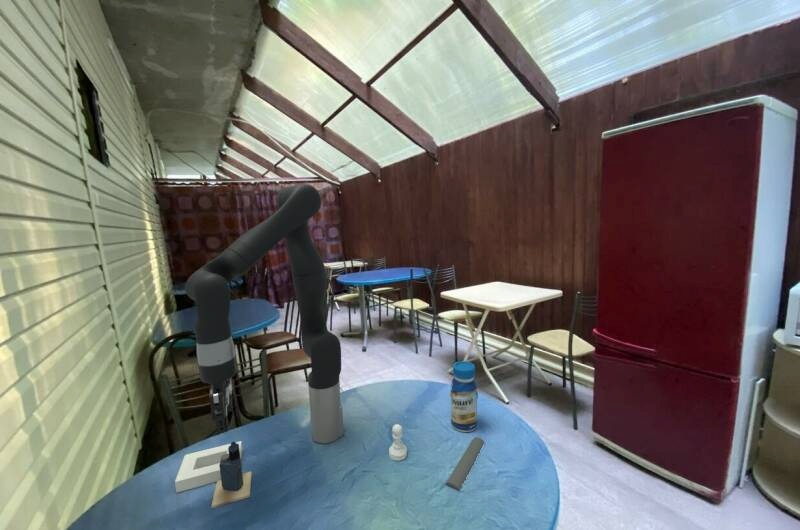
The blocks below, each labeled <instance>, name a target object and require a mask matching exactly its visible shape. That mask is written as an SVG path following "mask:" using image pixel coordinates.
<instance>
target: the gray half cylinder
mask: <svg viewBox="0 0 800 530" xmlns="http://www.w3.org/2000/svg"><path fill="white" fill-rule="evenodd" d="M473 438H474V439H473ZM473 438H472V440H471V441H472V442H471V441H470V443H469V445H468V446H469V447H468V446H467V447H466V449H467V450H465V451H464V453H463V455H462V456H461V457H460V459H459V461H458V463H457V464H456V466H455V467H454V469H453V471H452V473H451V474H450V476H449V478H448V479H447V481H446V483H445V485H446V484H447V485H446V486H448V485H449V487H451V488H452V489H455V490H457V489H458V490H457V491H459V490H460V489H461V487H462V484H463V483H464V481H465V480H466V481H467V479H466V477H467V475H468V474H469V472H470V470H471V468H472V466H473V465H474V462H475V461H476V458H477V456H478V454H479V453H480V450H481V448H482V446H483V444H484V443H485V444H486V442H485V441H484V440H483V438H481V437H477V436H475V437H473ZM480 454H481V453H480ZM476 462H477V461H476ZM474 466H475V465H474ZM474 466H473V467H474ZM472 469H473V468H472ZM471 471H472V470H471ZM470 473H471V472H470ZM469 475H470V474H469ZM466 481H465V482H466ZM464 484H465V483H464ZM462 488H463V487H462ZM461 490H462V489H461ZM461 490H460V491H461Z"/></svg>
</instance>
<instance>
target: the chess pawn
mask: <svg viewBox="0 0 800 530" xmlns="http://www.w3.org/2000/svg"><path fill="white" fill-rule="evenodd" d="M391 435H392V438H393V439H394V441H393V442H392V445H391V446H389V449H388V456H389V458H390V459H391V461H395V462H401V461H403V460H405V459H406V458H407V456H408V449H407V446H406V445H404V443H403V441H402V440H401V438H403V436H404V435H403V427H402V425H400V424H399V423H396V424H394V425H393V426H392V434H391Z"/></svg>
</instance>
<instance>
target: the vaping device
mask: <svg viewBox="0 0 800 530" xmlns="http://www.w3.org/2000/svg"><path fill="white" fill-rule="evenodd" d="M236 442H237V441H232V442H231V443H230V444H231V445H230V446H229V447H228V451H229V454H224V455H223V456H222V457H221V461H220V465H219V466H220V475H221V483H222V487H223V489H224V490H232V491H238V490H239V489H241V487H242V486H243V476H242V474H243V470H242V459H241V458H240V450H239V444H237V443H236Z"/></svg>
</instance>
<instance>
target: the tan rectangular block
mask: <svg viewBox="0 0 800 530" xmlns="http://www.w3.org/2000/svg"><path fill="white" fill-rule="evenodd" d="M242 476H243V486H242V487H241V489H239V490H238V491H232V490H224V489H223V487H222V483H221V480H218V481H217V482H216V485H215V488H214V489H215V490H214V493H213V497H212V501H211V502H212V503H211V509H215V508H218V507H221V506H225V505H228V504H231V503H234V502H238V501H242V500H244V499H247V498H250V497H251V484H252V471H251V470H250V471H247V472H244V473H243V472H242Z"/></svg>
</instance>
